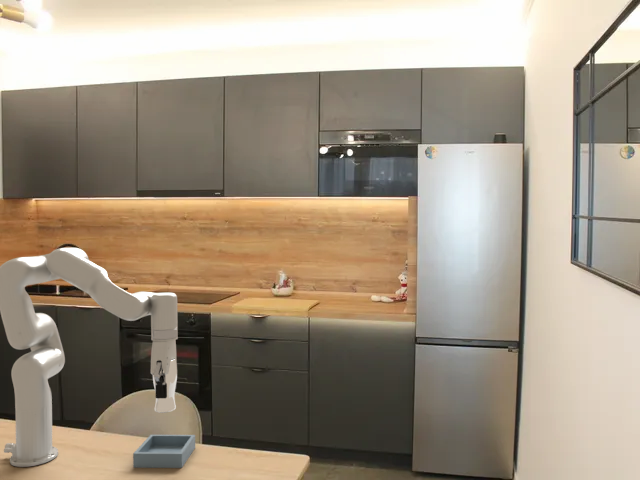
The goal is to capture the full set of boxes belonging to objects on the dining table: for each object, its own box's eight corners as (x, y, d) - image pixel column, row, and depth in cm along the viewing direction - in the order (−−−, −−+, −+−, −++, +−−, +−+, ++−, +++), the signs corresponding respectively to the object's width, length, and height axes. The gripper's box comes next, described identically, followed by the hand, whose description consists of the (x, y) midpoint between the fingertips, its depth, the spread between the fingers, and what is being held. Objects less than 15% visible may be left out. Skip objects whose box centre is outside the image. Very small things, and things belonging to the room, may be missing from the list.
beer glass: (170, 413, 150) (169, 362, 150) (148, 412, 152) (148, 361, 152) (181, 406, 157) (181, 356, 157) (160, 404, 158) (160, 355, 158)
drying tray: (133, 467, 148) (133, 453, 148) (150, 447, 162) (150, 434, 162) (181, 467, 147) (181, 453, 147) (195, 447, 161) (195, 434, 161)
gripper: (161, 329, 163) (162, 385, 163) (141, 340, 146) (141, 403, 146) (185, 328, 163) (186, 385, 163) (167, 340, 145) (168, 403, 146)
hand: (165, 393), depth 154 cm, fingers closed on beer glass, 6 cm apart
